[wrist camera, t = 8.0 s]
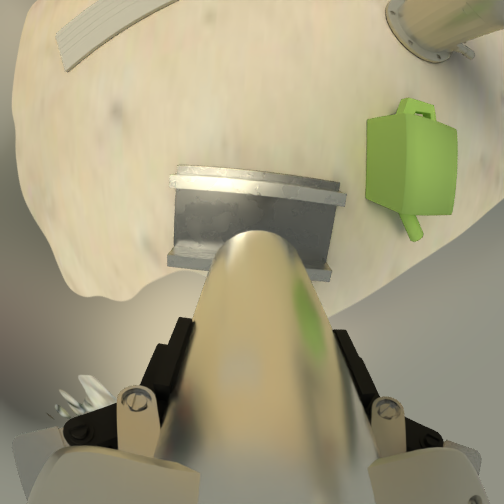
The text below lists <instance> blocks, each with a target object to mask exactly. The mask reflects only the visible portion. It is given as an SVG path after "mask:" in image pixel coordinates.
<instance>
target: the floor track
mask: <svg viewBox="0 0 504 504" xmlns="http://www.w3.org/2000/svg"><path fill="white" fill-rule="evenodd" d="M339 186H340V183H339V182H334V181H328V180H322V179H315V178H309V177H302V176H295V175H288V174H280V173H272V172H263V171H254V170H245V169H234V168H222V167H208V166H192V165H177V173H175V174H171V175H170V181H169V188H176V196H175V219H174V247H173V249H172V250H171V251H170V252H169V253H168V255H167V266H169V267H178V268H187V269H196V270H205V271H209V269H210V266H211V264H212V261H213V258H214V256H215V255H216V253H217V251H218V249H219V248H220V247H221V246H222V245H223V244H224V243H225V242H226V241H227V240H228V239H230V238H232V237H234V236H235V235H237V234H239V233H243V232H247V231H257V230H264V231H267V232H271V233H275V234H277V235H279V236H281V237H283V238H284V239H286V240H287V241H288V242H289V243H290V244H291V245H292V246H293V247H294V248H295V249H296V251H297V253H298V254H299V256H300V258H301V260H302V262H303V265H304V267H305V269H306V271H307V273H308V275H309V278H310V280H312V281H324V282H330V277H331V273H332V270H331V269H330V267H329V266H328V264H327V263H326V259H327V254H328V249H329V244H330V239H331V234H332V228H333V223H334V217H335V211H336V205H337V206H344V207H345V202H346V196H347V194H346V193H343V192H341V191H339Z"/></svg>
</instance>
